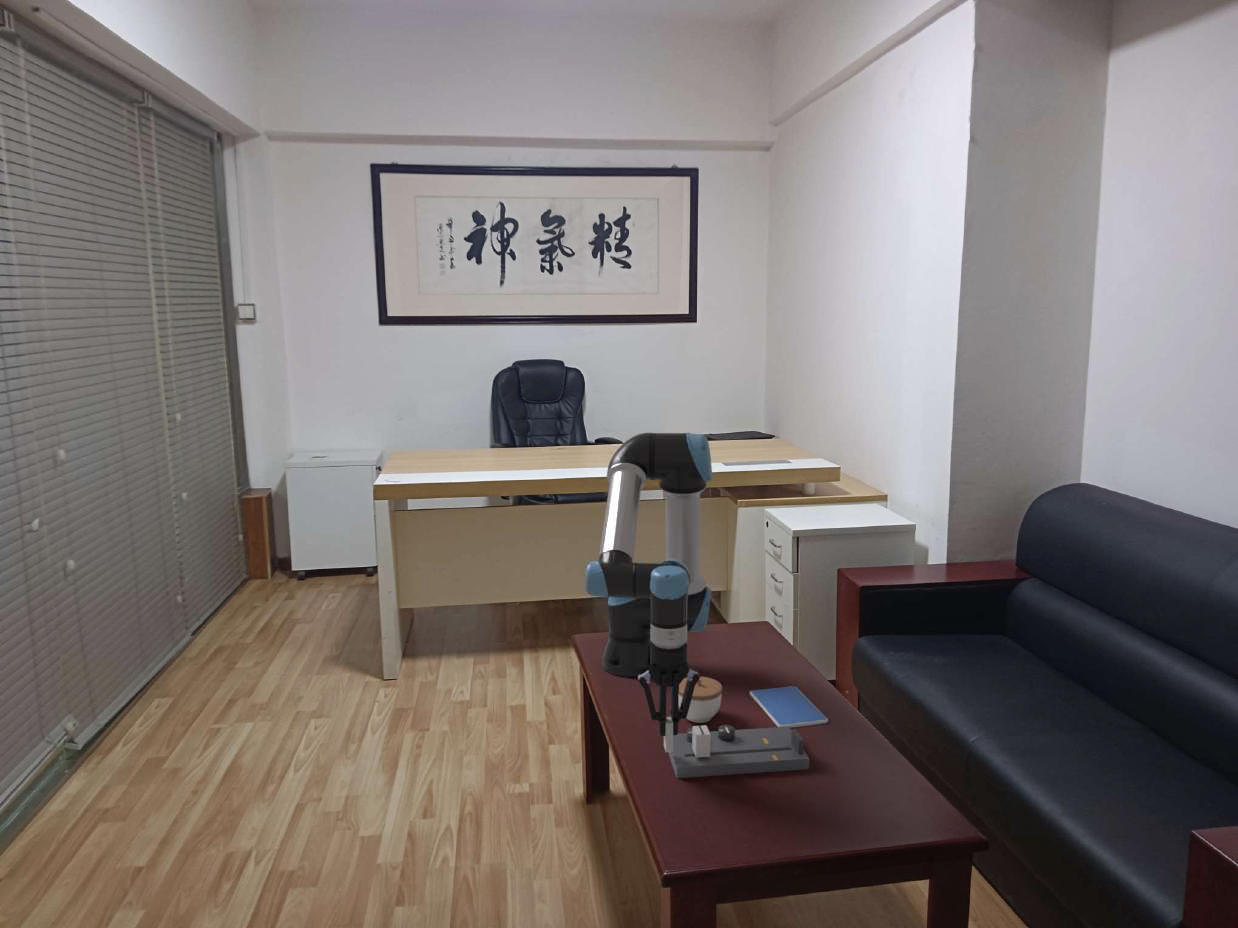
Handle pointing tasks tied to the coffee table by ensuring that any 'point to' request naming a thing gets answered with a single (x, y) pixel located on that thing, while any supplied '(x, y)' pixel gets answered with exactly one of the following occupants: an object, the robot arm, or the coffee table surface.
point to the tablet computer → (788, 707)
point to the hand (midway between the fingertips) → (668, 748)
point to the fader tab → (701, 741)
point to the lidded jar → (702, 699)
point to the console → (740, 752)
